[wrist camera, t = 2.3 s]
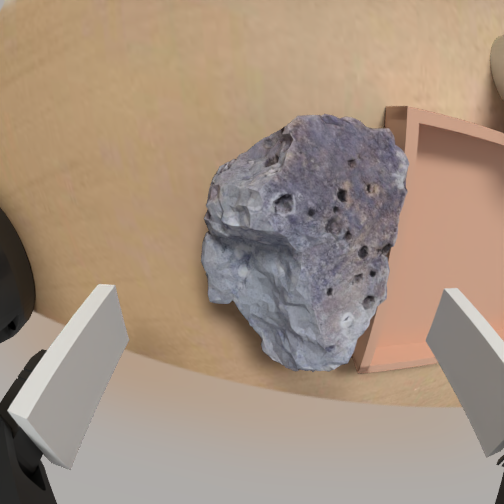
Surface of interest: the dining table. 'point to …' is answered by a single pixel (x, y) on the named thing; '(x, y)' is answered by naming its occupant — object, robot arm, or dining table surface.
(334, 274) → the rock
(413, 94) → the dining table surface
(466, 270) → the dish
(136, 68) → the dining table surface
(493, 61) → the white rounded cylinder
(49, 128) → the dining table surface
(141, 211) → the dining table surface
